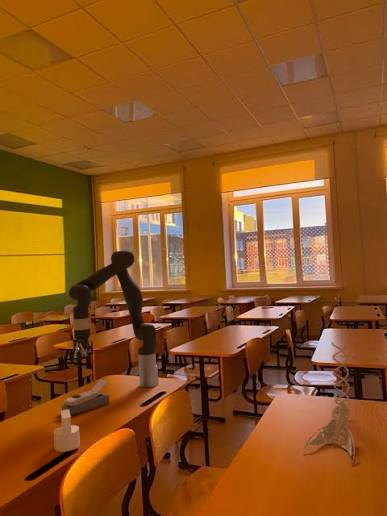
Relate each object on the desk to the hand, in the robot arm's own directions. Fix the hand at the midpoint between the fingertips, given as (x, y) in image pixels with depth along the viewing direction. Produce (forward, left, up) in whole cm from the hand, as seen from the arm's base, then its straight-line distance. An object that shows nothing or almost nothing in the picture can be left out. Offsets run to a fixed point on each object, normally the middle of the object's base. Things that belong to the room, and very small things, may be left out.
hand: (83, 362), depth 192 cm
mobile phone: (0, 0, -18) cm, 18 cm away
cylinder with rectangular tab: (+25, +30, -22) cm, 45 cm away
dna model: (-63, +95, -22) cm, 116 cm away
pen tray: (0, 0, -22) cm, 22 cm away
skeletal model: (-36, +105, -22) cm, 114 cm away
